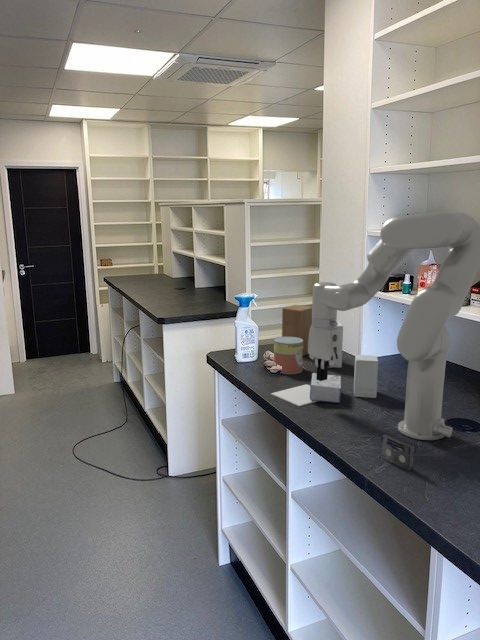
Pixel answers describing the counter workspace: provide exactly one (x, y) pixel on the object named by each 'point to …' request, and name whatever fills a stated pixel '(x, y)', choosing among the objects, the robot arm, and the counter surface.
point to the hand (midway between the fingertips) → (321, 379)
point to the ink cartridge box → (326, 389)
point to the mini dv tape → (397, 452)
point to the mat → (296, 395)
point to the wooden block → (297, 323)
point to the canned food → (289, 354)
